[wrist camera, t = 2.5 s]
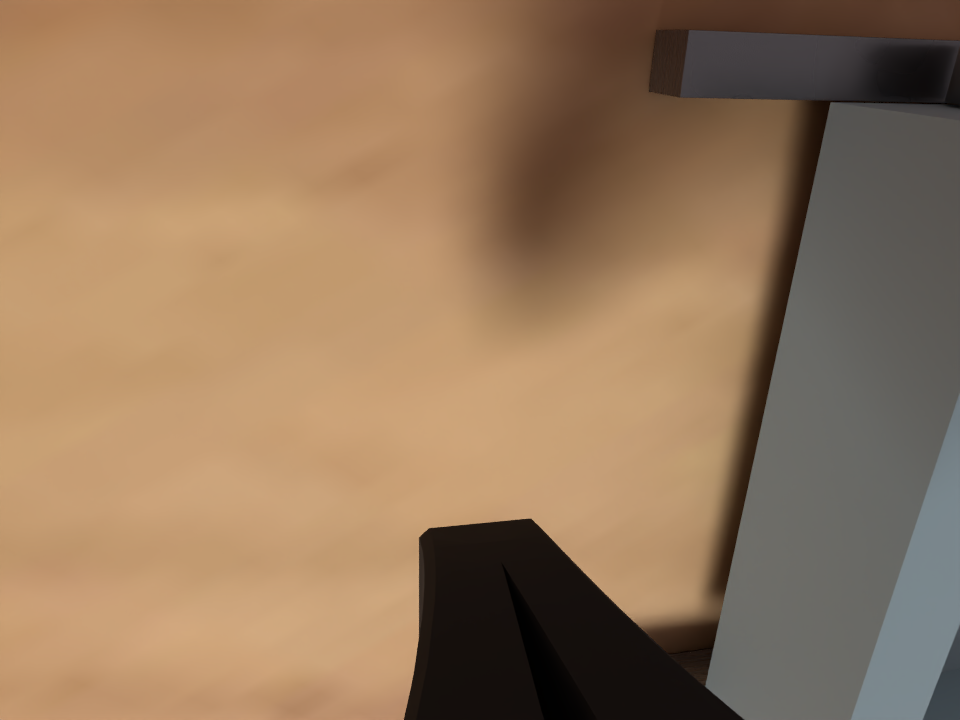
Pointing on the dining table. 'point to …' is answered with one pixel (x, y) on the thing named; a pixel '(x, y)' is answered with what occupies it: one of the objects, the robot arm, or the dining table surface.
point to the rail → (796, 91)
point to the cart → (859, 443)
